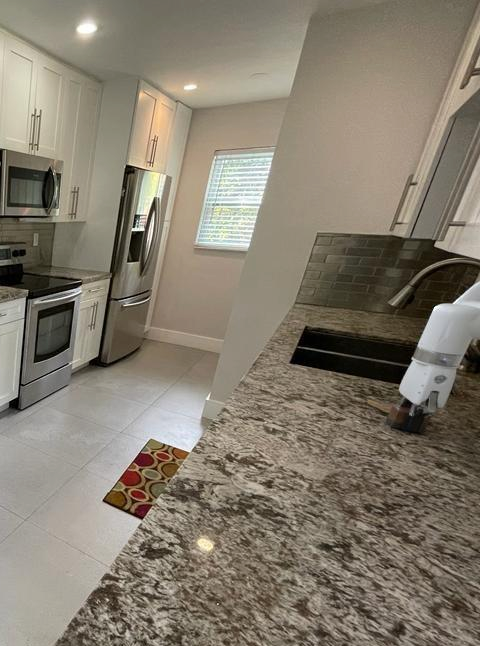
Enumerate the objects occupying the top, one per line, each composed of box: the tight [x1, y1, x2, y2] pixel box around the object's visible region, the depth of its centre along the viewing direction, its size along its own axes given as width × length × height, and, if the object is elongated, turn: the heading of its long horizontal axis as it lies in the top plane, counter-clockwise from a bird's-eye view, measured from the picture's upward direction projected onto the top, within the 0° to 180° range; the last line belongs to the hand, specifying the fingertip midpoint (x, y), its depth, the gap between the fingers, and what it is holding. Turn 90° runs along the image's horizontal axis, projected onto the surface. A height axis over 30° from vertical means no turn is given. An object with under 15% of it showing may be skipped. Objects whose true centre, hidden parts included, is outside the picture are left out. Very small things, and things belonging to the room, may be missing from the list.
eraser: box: [385, 405, 433, 433], centre depth 101 cm, size 6×4×4 cm, turn 65°
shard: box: [366, 398, 398, 414], centre depth 110 cm, size 11×8×2 cm
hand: (404, 425), depth 102 cm, fingers closed on eraser, 3 cm apart
